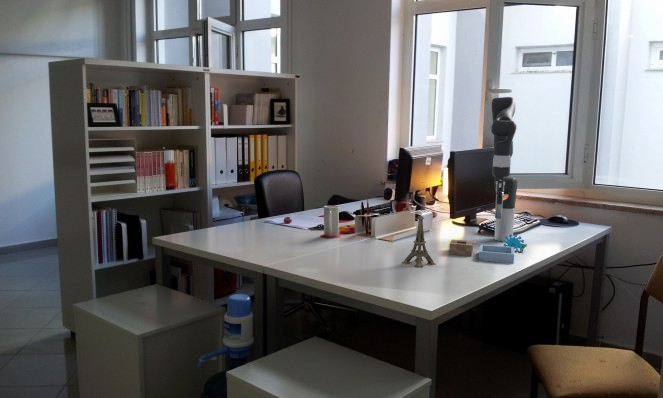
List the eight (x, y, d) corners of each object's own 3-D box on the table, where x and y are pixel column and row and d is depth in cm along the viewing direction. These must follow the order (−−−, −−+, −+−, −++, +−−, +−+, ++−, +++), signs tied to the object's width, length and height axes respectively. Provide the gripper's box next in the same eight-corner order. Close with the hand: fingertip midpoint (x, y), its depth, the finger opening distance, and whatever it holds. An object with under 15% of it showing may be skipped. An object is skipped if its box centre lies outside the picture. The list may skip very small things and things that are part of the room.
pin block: (451, 249, 275) (451, 239, 274) (472, 251, 272) (473, 241, 272) (449, 254, 266) (449, 243, 265) (471, 256, 263) (472, 245, 262)
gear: (501, 248, 273) (505, 231, 278) (500, 254, 278) (504, 237, 283) (525, 253, 269) (528, 236, 275) (523, 260, 274) (527, 243, 279)
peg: (494, 217, 260) (496, 191, 258) (501, 217, 259) (503, 191, 257) (494, 218, 257) (496, 192, 255) (501, 218, 256) (503, 192, 255)
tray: (480, 252, 270) (480, 244, 269) (513, 255, 266) (513, 247, 265) (478, 260, 256) (479, 251, 255) (513, 263, 251) (514, 254, 251)
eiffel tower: (418, 268, 241) (421, 209, 237) (401, 262, 249) (403, 206, 245) (436, 264, 247) (438, 207, 243) (418, 259, 255) (421, 204, 252)
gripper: (493, 164, 262) (491, 201, 265) (492, 166, 249) (490, 205, 252) (510, 164, 260) (507, 202, 263) (510, 167, 247) (507, 206, 249)
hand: (499, 203), depth 257 cm, fingers closed on peg, 3 cm apart
